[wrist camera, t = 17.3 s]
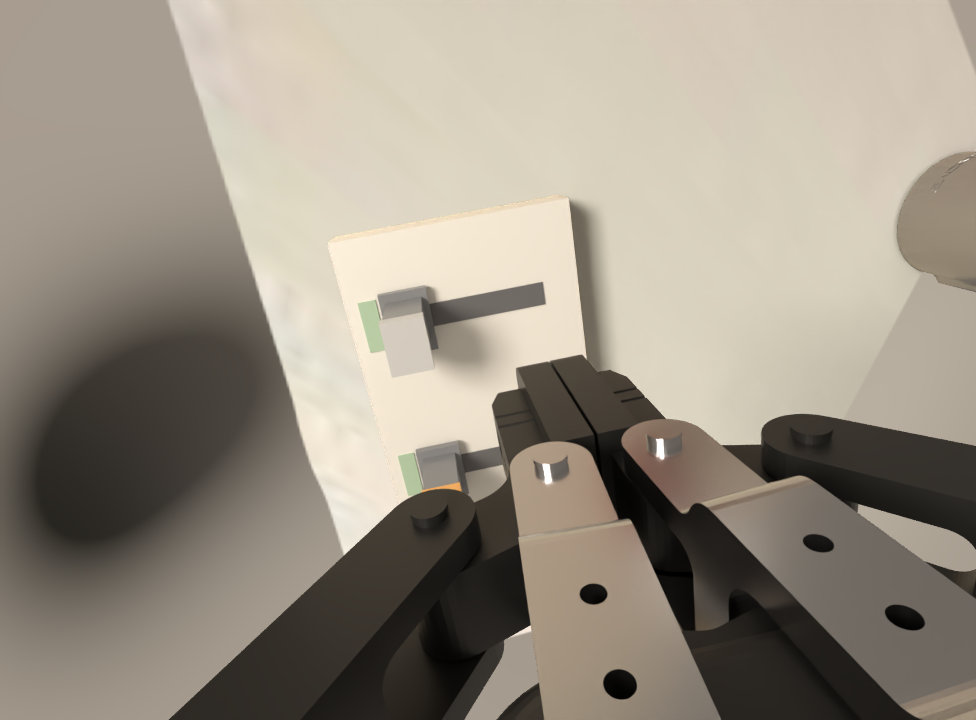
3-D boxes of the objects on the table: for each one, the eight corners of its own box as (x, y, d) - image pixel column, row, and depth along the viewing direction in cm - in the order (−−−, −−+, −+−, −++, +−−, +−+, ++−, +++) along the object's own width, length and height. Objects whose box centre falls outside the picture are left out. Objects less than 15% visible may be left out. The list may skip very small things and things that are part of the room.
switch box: (591, 479, 48) (602, 500, 45) (409, 518, 47) (408, 542, 44) (558, 194, 39) (569, 198, 37) (333, 236, 39) (327, 243, 36)
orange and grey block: (468, 489, 43) (475, 535, 38) (427, 498, 43) (429, 545, 38) (457, 440, 42) (463, 481, 36) (415, 449, 41) (415, 491, 36)
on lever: (438, 345, 39) (441, 375, 34) (392, 354, 39) (389, 386, 33) (425, 284, 37) (426, 306, 32) (377, 294, 37) (371, 317, 32)
